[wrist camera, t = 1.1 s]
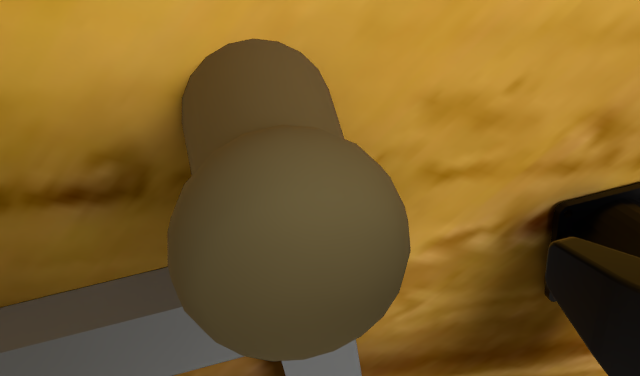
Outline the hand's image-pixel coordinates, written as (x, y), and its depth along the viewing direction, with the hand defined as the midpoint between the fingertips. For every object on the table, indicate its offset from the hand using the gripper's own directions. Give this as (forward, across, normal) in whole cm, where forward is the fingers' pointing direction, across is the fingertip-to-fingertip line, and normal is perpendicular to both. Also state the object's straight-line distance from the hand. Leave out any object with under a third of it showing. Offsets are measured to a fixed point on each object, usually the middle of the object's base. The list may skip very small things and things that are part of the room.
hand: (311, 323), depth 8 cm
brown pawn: (+12, 0, 0) cm, 12 cm away
